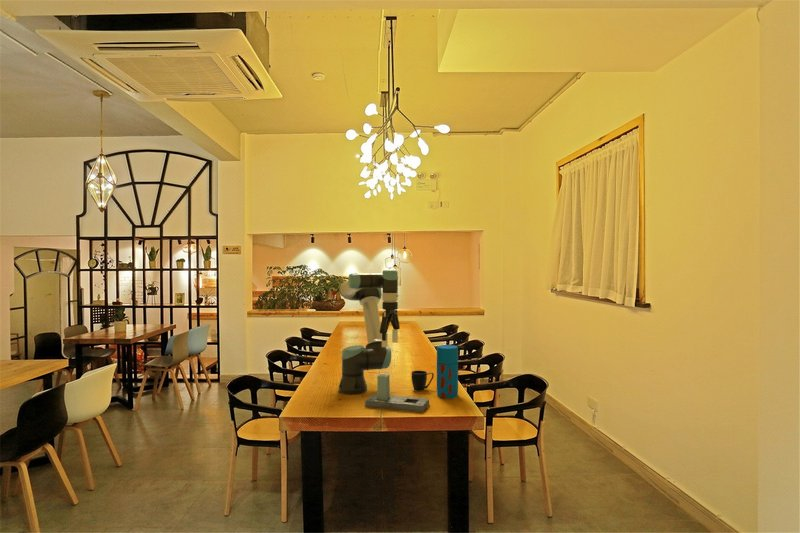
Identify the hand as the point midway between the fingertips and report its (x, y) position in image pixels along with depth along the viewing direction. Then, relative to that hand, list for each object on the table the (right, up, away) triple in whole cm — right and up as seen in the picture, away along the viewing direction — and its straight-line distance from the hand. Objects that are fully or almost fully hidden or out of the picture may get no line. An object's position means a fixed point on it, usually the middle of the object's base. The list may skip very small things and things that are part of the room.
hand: (389, 344), depth 221 cm
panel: (+4, -28, -7) cm, 29 cm away
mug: (+17, -28, +21) cm, 39 cm away
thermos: (+29, -28, +10) cm, 42 cm away
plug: (-3, -28, -5) cm, 28 cm away
